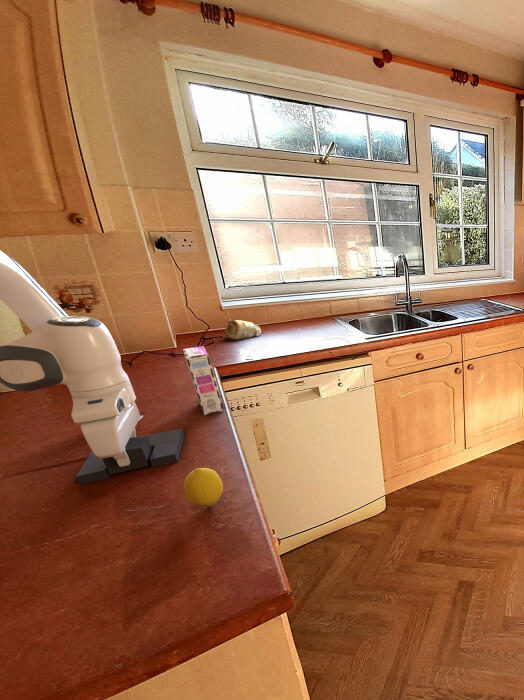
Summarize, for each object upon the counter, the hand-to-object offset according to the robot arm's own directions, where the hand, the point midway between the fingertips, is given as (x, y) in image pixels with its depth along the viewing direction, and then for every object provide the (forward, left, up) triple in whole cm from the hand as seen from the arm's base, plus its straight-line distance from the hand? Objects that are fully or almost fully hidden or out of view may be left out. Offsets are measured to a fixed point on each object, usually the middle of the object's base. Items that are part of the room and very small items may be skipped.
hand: (129, 455), depth 90 cm
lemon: (+15, -26, -3) cm, 30 cm away
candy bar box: (+13, +26, -3) cm, 30 cm away
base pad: (0, +4, -2) cm, 4 cm away
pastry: (+21, +109, -3) cm, 112 cm away
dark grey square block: (0, 0, -2) cm, 2 cm away
